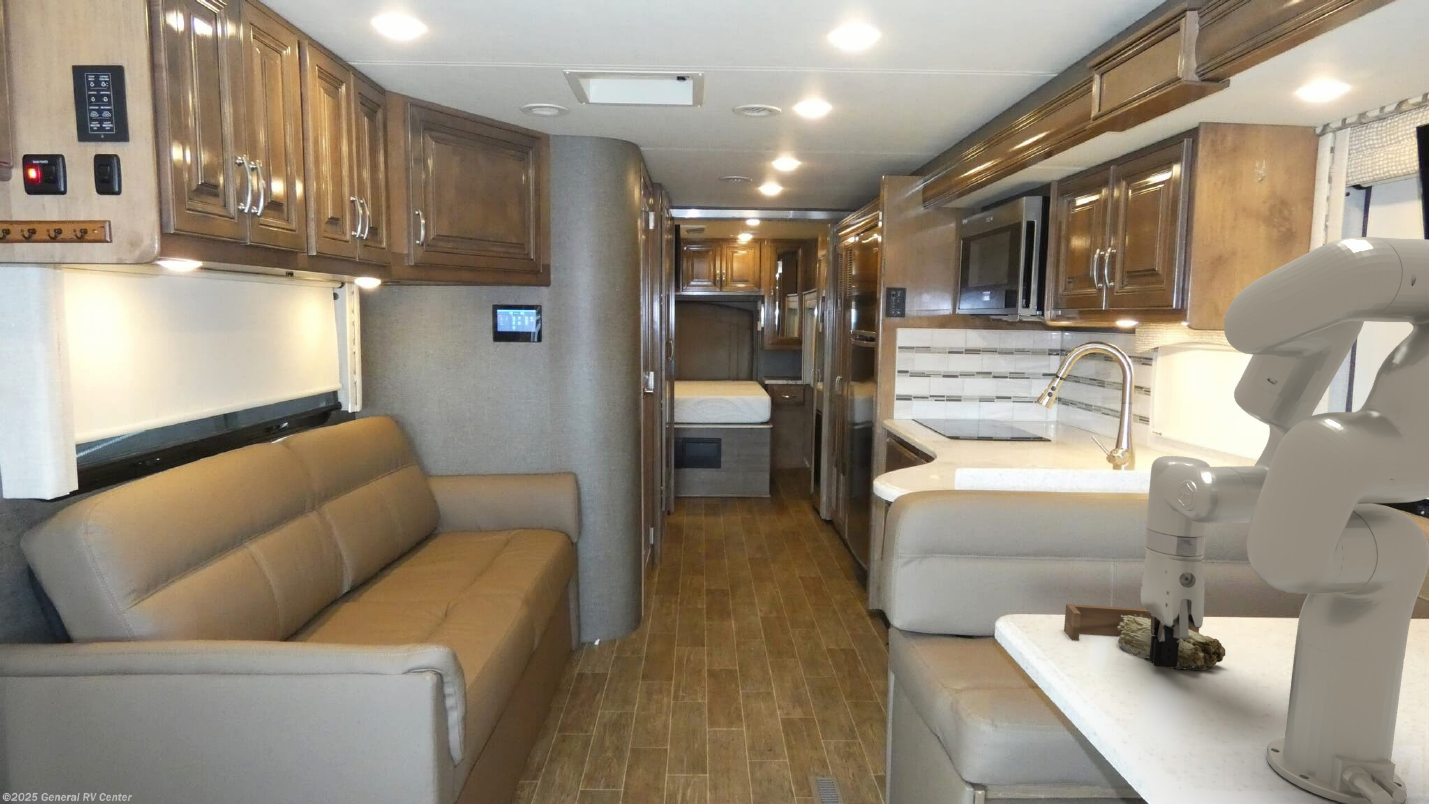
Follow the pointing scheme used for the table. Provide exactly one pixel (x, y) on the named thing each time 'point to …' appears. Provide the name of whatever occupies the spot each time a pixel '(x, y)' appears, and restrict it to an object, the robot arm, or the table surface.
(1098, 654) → the table surface
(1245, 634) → the table surface
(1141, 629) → the beige fibrous lump
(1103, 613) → the stand
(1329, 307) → the robot arm
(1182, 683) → the table surface
